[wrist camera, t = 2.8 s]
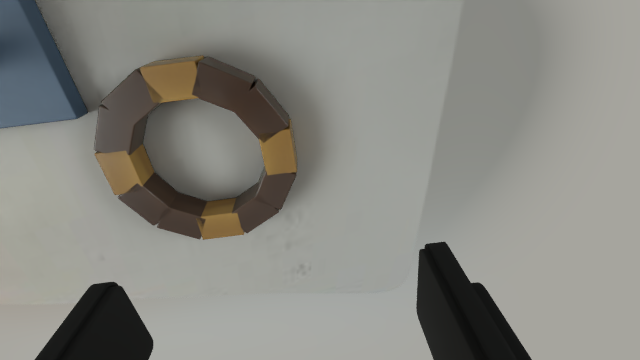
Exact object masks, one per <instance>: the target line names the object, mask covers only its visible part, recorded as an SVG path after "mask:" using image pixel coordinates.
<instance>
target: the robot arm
mask: <svg viewBox="0 0 640 360" xmlns="http://www.w3.org/2000/svg"><path fill="white" fill-rule="evenodd" d="M417 315H418V318H419V321H420V324H421V327H422V329H423V332H424V335H425V337H426V340H427V343H428V345H429V348H430V351H431V353H432V356H433V359H434V360H532V359H531V358H530V356H529V355H528V353H527V352H526V350H525V349H524V347H523V346H522V344H521V343H520V341H519V339H518V338H517V336H516V335H515V333H514V332H513V330H512V329H511V327H510V325H509V324H508V322H507V321H506V319H505V318H504V316H503V315H502V313H501V312H500V310H499V308H498V307H497V305H496V304H495V302H494V301H493V299H492V298H491V296H490V295H489V293H488V291H487V290H486V289H485V287H484V286H483V285H482V284H480V283H470V281H469V279H468V278H467V276H466V275H465V273H464V271H463V270H462V268H461V266H460V265H459V263H458V261H457V260H456V258H455V257H454V255H453V253H452V252H451V250H450V248H449V247H448V245H447V244H446V243H445V242H439V243H430V244H426V245H425V249H421V250H420V251H419V268H418V288H417ZM152 349H153V339H152V337H151V335H150V334H149V332H148V330H147V329H146V327H145V325H144V323H143V322H142V320H141V318H140V316H139V315H138V313H137V311H136V310H135V308H134V306H133V304H132V303H131V301H130V299H129V297H128V296H127V294H126V292H125V291H124V289H123V288H122V287H121V286H118V284H117V283H115V282H107V283H99V284H93V285H91V286H90V287H89V288H88V290H87V291H86V292H85V294H84V295H83V296H82V298H81V299H80V300H79V302H78V303H77V304H76V306H75V307H74V308H73V310H72V311H71V312H70V314H69V315H68V316H67V318H66V319H65V320H64V321H63V323H62V324H61V325H60V327H59V328H58V329H57V331H56V332H55V333H54V335H53V336H52V338H51V339H50V340H49V342H48V343H47V344H46V345H45V347H44V348H43V350H42V351H41V352H40V353H39V355H38V356H37V357H36V359H35V360H148V359H149V357H150V355H151V352H152Z"/></svg>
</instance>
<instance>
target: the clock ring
mask: <svg viewBox="0 0 640 360" xmlns="http://www.w3.org/2000/svg"><path fill="white" fill-rule="evenodd" d="M254 81H255V76H254V75H251V74H249V73H246V72H244V71H242V70H239V69H237V68H235V67H232V66H230V65H227V64H225V63H223V62H220V61H218V60H216V59H213V58H211V57H208V56H207V57H206V58H204V56H203V55H202V56H194V57H186V58H178V59H170V60H162V61H154V62H152V63H149V64H147V65H144V66H142V67H140V68H138V69H135V70H134V71H133V72H132V73H131V74H130V75H129V76H128V77H127V78H126V79H125V80H124V81H123V82H122V83H120V84H119V85H118V86H117V87H116V88H115V89H114V90H113V91H112V92H111V93H110V94H109V95H108V96H107V97H106V98H104V99H103V100H102V101H101V103H102V105H100V106H99V112H98V120H97V129H96V137H95V145H94V150H95V151H97V152H96V153H95V156H96V158H97V160H98V162H99V164H100V166H101V168H102V170H103V172H104V174H105V176H106V178H107V180H108V182H109V184H110V186H111V188H112V190H113V192H114V194H115V195H119V194H120V195H119V196H118V199H120V200H121V201H122V202H124V203H125V204H126V205H127V206H129V207H130V208H131V209H133V210H134V211H135V212H137V213H138V214H139V215H140V216H142V217H143V218H144V219H146V220H147V221H148V222H150V223H151V224H152V225H156V224H157V223H158V226H157V228H160V229H164V230H168V231H171V232H175V233H178V234H182V235H186V236H189V237H193V238H197V239H200V238H201V236H202V238H203V240H204V239H212V238H220V237H228V236H236V235H244V232H246V233H248V232H250V231H251V230H253V229H254V228H256V227H257V226H259V225H260V224H262V223H263V222H265V221H266V220H268V219H269V218H271V217H272V216H274V215H275V214H277V213H278V212H279V209H281V208H282V206H283V204H284V202H285V199H286V197H287V195H288V193H289V191H290V188H291V186H292V184H293V182H294V179H295V177H296V172H297V156H296V149H295V143H294V137H293V131H292V124H291V119H289V115H288V114H287V113H286V111H285V110H284V109H283V108H282V106H281V105H280V104H279V103H278V102H277V100H276V99H275V98H274V97H273V95H272V94H271V93H270V92H269V91H268V89H267V88H266V87H265V86H264V84H263V83H262V82H261V81H260V80H259V79H258V80H256V81H255V82H254ZM195 98H199V99H202V100H204V101H207V102H210V103H212V104H215V105H217V106H220V107H223V108H225V109H228V110H230V111H233V112H235V113H236V114H237V115H238V117H239V118H240V119H241V120H242V121H243V122H244V123H245V124H246V125H247V126H248V128H249V129H250V130H251V131H252V132H253V133H254V134H255V135H256V136H257V138H258V139H259V142H260V146H261V151H262V155H263V160H264V165H265V166H264V169H263V171H262V174H261V176H260V179H259V181H258V183H256V184H255V185H254V186H252V187H251V188H249V189H248V190H247V191H245V192H244V193H242V194H241V195H240V196H238V197H237V198H231V199H223V200H215V201H204V200H201V199H198V198H195V197H191V196H188V195H185V194H182V193H178V192H177V191H176V190H175V189H173V188H172V187H171V186H170V185H169V184H168V183H166V182H165V181H164V180H163V179H162V178H161V177H159V176H158V175H157V174H156V173H155V172H154V170H153V168H152V165H151V163H150V160H149V158H148V155H147V153H146V151H145V148H144V146H143V138H144V133H145V128H146V123H147V118H148V115H149V114H150V113H151V112H152V111H153V110H154V109H156V108H157V107H158V106H159V105H160V104H161V103H163V102H171V101H179V100H187V99H195Z"/></svg>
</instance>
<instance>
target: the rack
mask: <svg viewBox="0 0 640 360" xmlns="http://www.w3.org/2000/svg"><path fill="white" fill-rule="evenodd" d="M87 113H88V111H87V109H86V107H85V105H84V103H83V101H82V99H81V97H80V94H79V92H78V90H77V88H76V86H75V84H74V82H73V80H72V78H71V76H70V74H69V71H68V69H67V67H66V65H65V63H64V61H63V59H62V57H61V55H60V53H59V51H58V48H57V46H56V44H55V42H54V40H53V38H52V36H51V34H50V32H49V30H48V27H47V25H46V23H45V21H44V19H43V17H42V15H41V13H40V11H39V9H38V7H37V4H36V2H35V0H0V128H7V127H15V126H23V125H31V124H39V123H47V122H55V121H63V120H71V119H78V118H79V117H81V116H83V115H85V114H87Z"/></svg>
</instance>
